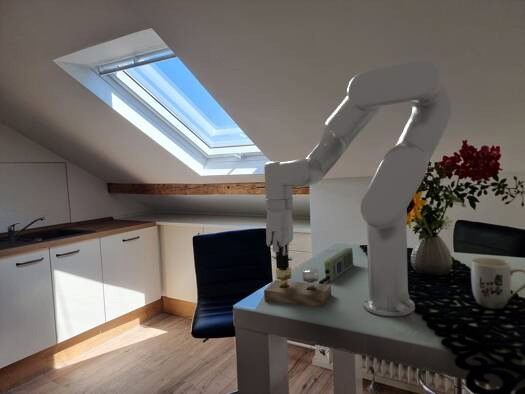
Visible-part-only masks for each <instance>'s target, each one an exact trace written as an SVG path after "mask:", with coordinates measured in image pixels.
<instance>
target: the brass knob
mask: <svg viewBox="0 0 525 394" xmlns="http://www.w3.org/2000/svg"><path fill="white" fill-rule="evenodd" d="M275 277H276V278H275V279H276V280H279V281H281V288H288V281H289V279H291V278H292V267H290V266H289V267H288V268H287V269H277V267H276V268H275Z"/></svg>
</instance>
